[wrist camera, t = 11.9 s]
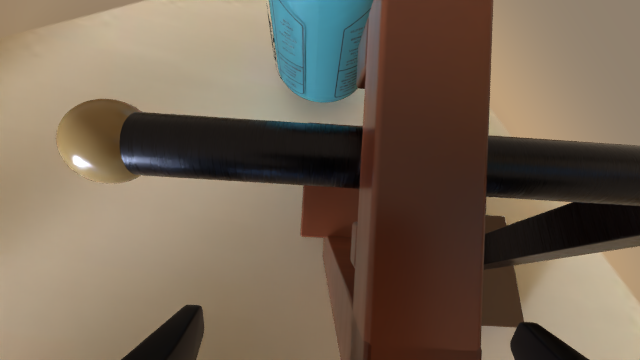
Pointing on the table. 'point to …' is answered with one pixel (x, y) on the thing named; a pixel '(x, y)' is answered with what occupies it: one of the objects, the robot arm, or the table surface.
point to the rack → (344, 171)
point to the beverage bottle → (318, 45)
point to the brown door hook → (413, 187)
